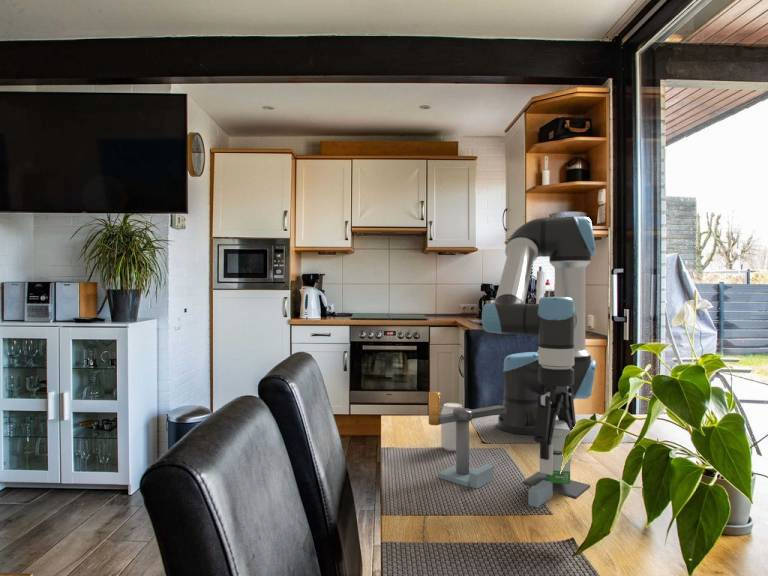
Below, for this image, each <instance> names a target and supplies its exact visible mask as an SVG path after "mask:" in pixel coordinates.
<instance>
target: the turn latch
mask: <svg viewBox="0 0 768 576" xmlns="http://www.w3.org/2000/svg"><path fill="white" fill-rule="evenodd" d="M503 413H506V407H504V406H503V405H500V404H499V405H498V404H497V405H491V406H486V407H479V408H475V409H471V408H466V407H462V408H455V409H453V413H450V414H444V415H441V391H435V390H434V391H433V390H432V391H428V425H429V426H441V424H445V423H450V422H456V421H469V422H470V421H472V420H474V419H481V418H486V417H491V416H496V415H500V414H503Z"/></svg>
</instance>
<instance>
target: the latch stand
mask: <svg viewBox="0 0 768 576" xmlns="http://www.w3.org/2000/svg"><path fill="white" fill-rule="evenodd" d="M455 461H456V463H455V464H454V465H453V466H451V467H448V468H447V469H444V470H442V471H440V472H438V476H437V477H438V478H439V479H442V480H445V481H448V482H452V483H454V484H457V485H460V486H465V487H468V488H469V487H471V488H474V489H479V488H481V487H482V486H484V485H486V484H488V483H490V482H491V481H493V480H494V465H490V464H487V463H486V464H483V465H481V466H480V467H477V468H474V467H470V421H456V451H455ZM553 496H554V492H553V482H549V481H545V480H543V481H541V482H540V483H538V484H537V485H535V486H531V488H529V489H528V499H527V500H528V506H531V507H534V508H540V507H541V506H542V505H544V504H545V503H546V502H547V501H549V500H550V499H551V498H553Z"/></svg>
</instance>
